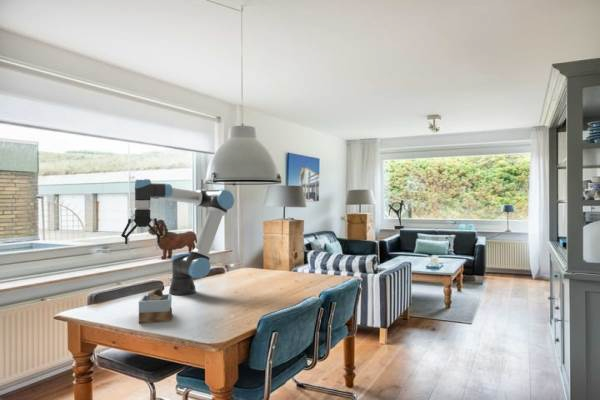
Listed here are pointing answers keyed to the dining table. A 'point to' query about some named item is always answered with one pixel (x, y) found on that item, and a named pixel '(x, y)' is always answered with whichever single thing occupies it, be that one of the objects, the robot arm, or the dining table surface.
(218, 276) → the dining table surface
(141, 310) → the tower top
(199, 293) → the dining table surface
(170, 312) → the tower base
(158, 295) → the rock
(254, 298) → the dining table surface
